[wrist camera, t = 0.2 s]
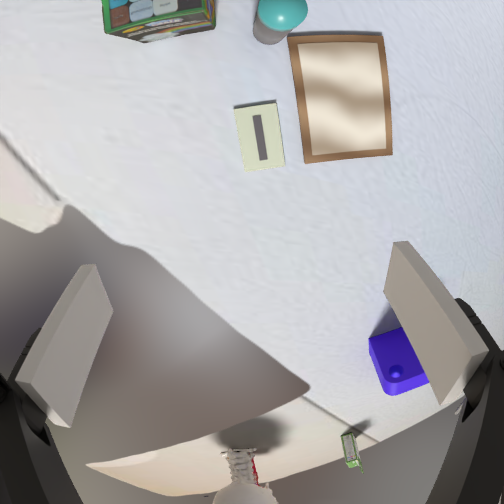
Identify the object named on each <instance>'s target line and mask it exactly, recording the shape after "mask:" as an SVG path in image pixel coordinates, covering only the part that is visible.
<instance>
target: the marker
mask: <svg viewBox="0 0 504 504" xmlns="http://www.w3.org/2000/svg"><path fill="white" fill-rule="evenodd" d="M307 12H308V7H307V3H306V1H305V0H260V1H259V5H258V11H257V15H256V19H255V22H254V26H253V34H254V36H255V38H256V39H257V40H258V41H259V42H261V43H263V44H267V45H272V44H276V43H278V42H280V41H281V40H282V39H283V38H284V37H285V36H286V35H287V34H288V33H290V32H291V31H292V30H293V29H294V28H296V27H297V26H298V25H299V24H300V23H302V22H303V21H304V19H305V18H306V16H307Z"/></svg>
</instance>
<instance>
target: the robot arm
mask: <svg viewBox="0 0 504 504" xmlns="http://www.w3.org/2000/svg"><path fill="white" fill-rule="evenodd" d="M383 292H384V294H385V296H386V298H387V299H388V301H389V303H390V305H391V307H392V309H393V310H394V312H395V314H396V316H397V318H398V320H399V322H400V324H401V325H402V327H403V329H404V331H405V333H406V335H407V337H408V339H409V341H410V343H411V345H412V347H413V349H414V351H415V353H416V355H417V357H418V359H419V361H420V363H421V365H422V367H423V370H424V372H425V374H426V376H427V378H428V380H429V382H430V385H431V387H432V389H433V391H434V393H435V396H436V398H437V400H438V403H439V405H440V406H441V405H444V404H446V403H449V402H452V401H455V400H457V398H458V397H459V396H460V394H461V393H462V391H464V393H465V395H466V398H465V399H464V401H463V402H462V403H461V405H460V406H459V407H458V409H457V410H456V412H455V414H458V412H459V411H460V410H461V412H460V415H459V419H458V422H457V425H456V428H455V432H454V435H453V438H452V441H451V443H450V446H449V449H448V452H447V455H446V457H445V460H444V463H443V465H442V468H441V470H440V473H439V475H438V478H437V480H436V482H435V484H434V487H433V489H432V491H431V493H430V495H429V498H428V500H427V502H426V504H498V503H499V499H500V496H501V493H502V496H501V504H504V350H503V351H501V350H500V348H499V347H498V345H497V344H496V342H495V341H494V339H493V338H492V336H491V335H490V333H489V332H488V330H487V329H486V327H485V326H484V325H483V324H482V323H481V320H480V319H479V318H478V316H476V313H475V312H474V311H473V309H472V308H471V307H470V305H468V304H467V303H466V302H464V301H463V300H462V299H460V298H457V299H454V298H453V297H452V295H451V294H450V293H449V291H448V290H447V289H446V287H445V286H444V285H443V284H442V282H441V281H440V280H439V278H438V277H437V276H436V274H435V273H434V272H433V271H432V269H431V268H430V267H429V266H428V264H427V263H426V262H425V261H424V259H423V258H422V257H421V256H420V255H419V253H418V252H417V251H416V250H415V249H414V247H413V246H412V245H411V244H410V243H409V242H408V241H401V242H393V247H392V253H391V258H390V263H389V268H388V273H387V277H386V282H385V287H384V291H383ZM112 313H113V309H112V306H111V304H110V302H109V299H108V297H107V294H106V292H105V289H104V286H103V284H102V281H101V279H100V276H99V273H98V271H97V268H96V265H95V264H90V265H81V266H80V268H79V269H78V271H77V272H76V274H75V275H74V277H73V278H72V280H71V282H70V283H69V285H68V286H67V288H66V289H65V291H64V292H63V294H62V296H61V297H60V299H59V300H58V302H57V304H56V306H55V307H54V309H53V311H52V312H51V314H50V315H49V317H48V319H47V320H46V322H45V324H44V326H43V327H42V328H39V329H38V330H37V331H36V332H35V333H34V334H33V335H32V336H31V337H30V339H29V340H28V342H27V344H26V348H24V350H23V352H22V353H21V354H22V355H20V357H19V359H18V361H17V363H16V365H15V367H14V368H13V370H12V373H11V374H10V377H9V379H8V381H6V379H5V378H4V377H3V376H2V375H1V373H0V504H83V502H82V500H81V498H80V497H79V495H78V493H77V491H76V489H75V487H74V485H73V483H72V481H71V479H70V477H69V475H68V473H67V470H66V468H65V466H64V464H63V462H62V459H61V457H60V455H59V452H58V450H57V448H56V445H55V443H54V440H53V438H52V435H51V432H50V430H49V427H48V426H47V424H46V423H45V420H46V418H47V417H48V418H49V419H50V420H51V421H52V422H53V423H54V424H56V425H60V426H64V427H69V428H71V425H72V421H73V418H74V415H75V412H76V409H77V406H78V403H79V400H80V397H81V394H82V390H83V387H84V385H85V382H86V379H87V376H88V373H89V371H90V368H91V366H92V363H93V360H94V358H95V355H96V352H97V350H98V347H99V345H100V342H101V339H102V337H103V335H104V332H105V330H106V327H107V325H108V323H109V320H110V318H111V315H112Z"/></svg>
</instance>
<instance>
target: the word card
mask: <svg viewBox="0 0 504 504" xmlns="http://www.w3.org/2000/svg"><path fill="white" fill-rule="evenodd" d="M234 114H235V120H236V125H237V131H238V136H239V142H240V147H241V153H242V159H243V164H244V170H245V172H250V171H256V170H263V169H269V168H276V167H283V166H285V161H284V154H283V146H282V139H281V132H280V125H279V118H278V112H277V105H276V103H271V104H263V105H257V106H250V107H244V108H238V109H234Z"/></svg>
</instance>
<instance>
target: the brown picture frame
mask: <svg viewBox="0 0 504 504" xmlns="http://www.w3.org/2000/svg"><path fill="white" fill-rule="evenodd" d="M287 42H288V48H289V54H290V60H291V66H292V72H293V79H294V86H295V92H296V99H297V107H298V114H299V122H300V130H301V138H302V146H303V155H304V163H305V164H309V163H317V162H325V161H334V160H343V159H353V158H363V157H375V156H387V155H393V152H392V121H391V104H390V91H389V80H388V70H387V61H386V53H385V46H384V39H383V36H373V35H311V36H295V37H287Z"/></svg>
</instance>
